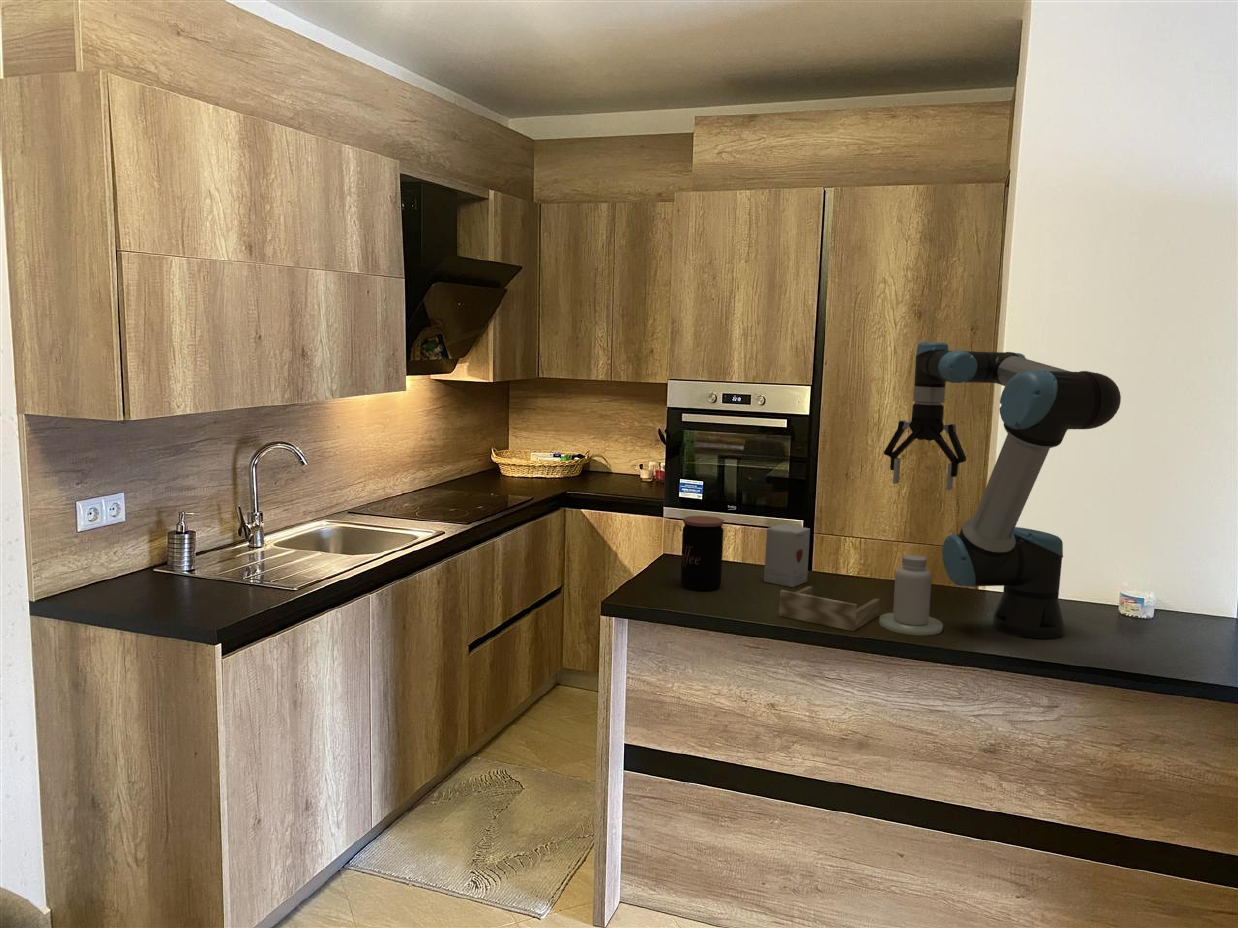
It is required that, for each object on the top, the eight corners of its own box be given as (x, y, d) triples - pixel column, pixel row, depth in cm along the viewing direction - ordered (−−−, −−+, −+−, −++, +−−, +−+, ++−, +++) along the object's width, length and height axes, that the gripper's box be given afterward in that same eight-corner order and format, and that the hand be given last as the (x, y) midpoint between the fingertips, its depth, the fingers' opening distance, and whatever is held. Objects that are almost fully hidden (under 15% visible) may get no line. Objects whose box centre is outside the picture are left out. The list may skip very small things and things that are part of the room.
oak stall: (878, 615, 220) (880, 591, 219) (853, 631, 207) (855, 605, 206) (807, 601, 231) (808, 578, 230) (778, 615, 218) (780, 590, 217)
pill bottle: (896, 613, 218) (901, 551, 216) (931, 619, 214) (936, 556, 212) (888, 622, 211) (893, 558, 209) (924, 628, 207) (929, 563, 205)
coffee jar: (674, 582, 246) (677, 516, 244) (711, 580, 249) (714, 515, 247) (689, 592, 236) (692, 523, 233) (727, 590, 239) (730, 522, 237)
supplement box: (793, 588, 244) (796, 532, 242) (763, 582, 249) (765, 527, 247) (808, 581, 251) (811, 527, 249) (778, 576, 256) (781, 523, 254)
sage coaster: (950, 625, 214) (950, 620, 214) (931, 639, 203) (932, 634, 203) (891, 613, 222) (891, 608, 222) (870, 626, 211) (870, 621, 211)
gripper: (983, 406, 229) (976, 490, 232) (884, 399, 243) (879, 479, 246) (975, 407, 223) (968, 493, 225) (875, 400, 237) (869, 482, 239)
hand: (922, 486), depth 235 cm, fingers open, 13 cm apart
